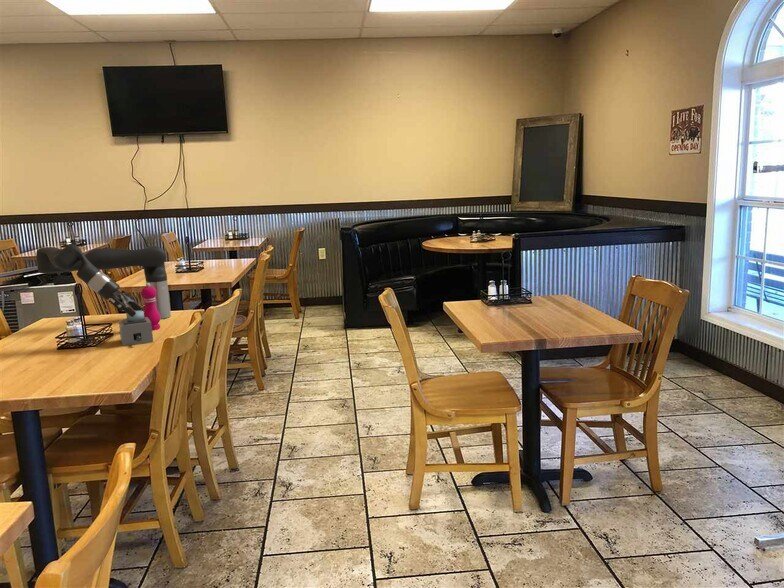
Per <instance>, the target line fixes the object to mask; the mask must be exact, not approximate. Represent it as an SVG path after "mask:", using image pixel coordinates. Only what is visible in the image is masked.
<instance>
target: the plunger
mask: <svg viewBox="0 0 784 588" xmlns="http://www.w3.org/2000/svg"><path fill="white" fill-rule="evenodd" d="M134 337H136V340H137V341H138V342H139V341H141V337H139V333H135V334H134Z"/></svg>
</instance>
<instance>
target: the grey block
mask: <svg viewBox="0 0 784 588" xmlns="http://www.w3.org/2000/svg"><path fill="white" fill-rule="evenodd" d="M118 327H119V335H120V341H121V345H122V347H127V346H135V345H141V344H148V343H149V344H150V343H154V338H153V330H152V326H151V321H150V320H149V318H148V317H144V320H141V321H135V322H129V321H127V318H123V319H120V320H118ZM135 333H140V335H141V341H139V342H138V341H137V340H136V339H134V336H133V334H135Z"/></svg>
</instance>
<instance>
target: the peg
mask: <svg viewBox="0 0 784 588" xmlns="http://www.w3.org/2000/svg"><path fill="white" fill-rule="evenodd" d="M134 311H135V312H136V314H135V315H134V316H133V317H131V316H130V315H129V314H127V313H126V312H125V313H126V319H127V321H129V322H135V321H141V320H144V311H145V310H140V311H136V310H134ZM133 336H134V334H133ZM139 337H141V335H140V333H139ZM134 339H136V337H134Z"/></svg>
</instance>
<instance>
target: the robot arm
mask: <svg viewBox="0 0 784 588" xmlns="http://www.w3.org/2000/svg"><path fill="white" fill-rule="evenodd" d="M35 256H36V266H37V267H36V268H37V271H38V273H40V274H45V275H46V274H47V275H49V274H58V273H60V274H61V273H69V272H76V277H77V278H79V279H80V280H81V281H82V282H83V283H85V285H87V286H88V287H89V288H90V289H91V290H93V292H95V293H96V294H97V295H99V296H100V297H101V298H102V299H103V300H105V301H108V302H109V303H110V304H111V305H112V306H114V307H115V308H116V309H117V310H118V311H120V312H125V313H127V314H129V315H130V316H131V317H133V316H134V315H135V314H136V312H135V311H142V306H140V305H139V304H138V303H136V302H135V301H136V300H135V298H134V297H133V296H131V295H129V294H128V293H127V292H126V291H125V290H122V291H119V289H120V287H121V286H120V285H119V284H118V283H117V282H116V281H114V280H113V279H112V278H111V277H110V276H108V275H107V274H105V273H104V272H102V270H104V271H105V270H114V269H115V270H117V269H124V268H131V267H143V274H144V278H145V285H146V284H147V283H149V284H150V287H153V288H155V290H156V295H155V298H156V299H155V300H156V301H155V307H156V309H157V311H158V313H159V315H160V320H162V319H168V318H171V316H172V315H171V304H170V294H169V285H168V276H167V271H166V265H165V264H166V263H165V262H166V260H167V253H166V251H165V250H164V249H163V248H162V247H159V245H154V244H153V245H152V244H151V245H148V246H147V247H145V248H141V249H139V248H138V249H124V248H114V247H113V248H111V247H110V248H108V247H107V248H106V247H105V248H94V249H92V250H91V249H90V251H88V252H87V253H84V252H83V251H82V249H81V248H80V247H79V246H78V245H76V244H73V243H69V244H67V245H66V246H65V247H64V248H59V247H55V246H44V247H41V248H38V249H37V250H36V252H35Z"/></svg>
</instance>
